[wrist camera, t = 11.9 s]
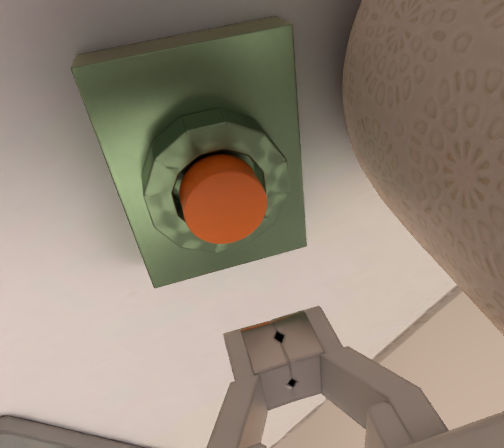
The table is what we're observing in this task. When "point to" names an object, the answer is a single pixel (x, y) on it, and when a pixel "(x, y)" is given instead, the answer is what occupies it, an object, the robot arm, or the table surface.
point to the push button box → (199, 136)
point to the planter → (435, 130)
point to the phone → (48, 436)
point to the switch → (222, 199)
